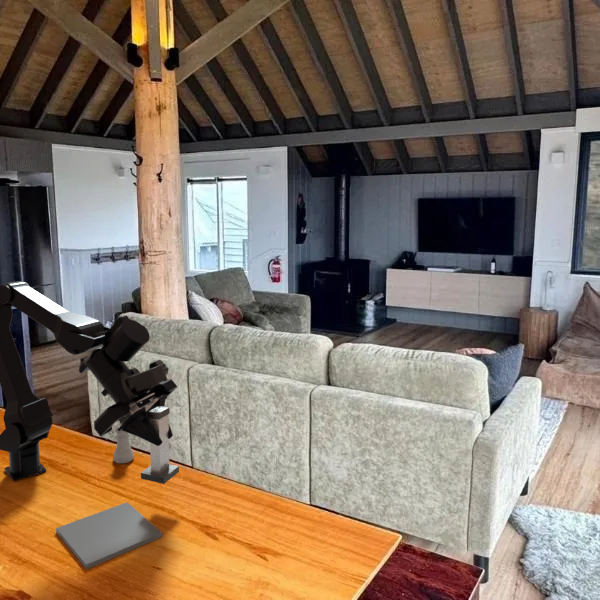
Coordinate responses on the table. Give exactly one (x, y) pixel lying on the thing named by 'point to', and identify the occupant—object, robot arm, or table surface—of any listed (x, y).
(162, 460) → the tray topped pillar
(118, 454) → the rook chess piece
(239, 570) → the table surface
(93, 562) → the plate
